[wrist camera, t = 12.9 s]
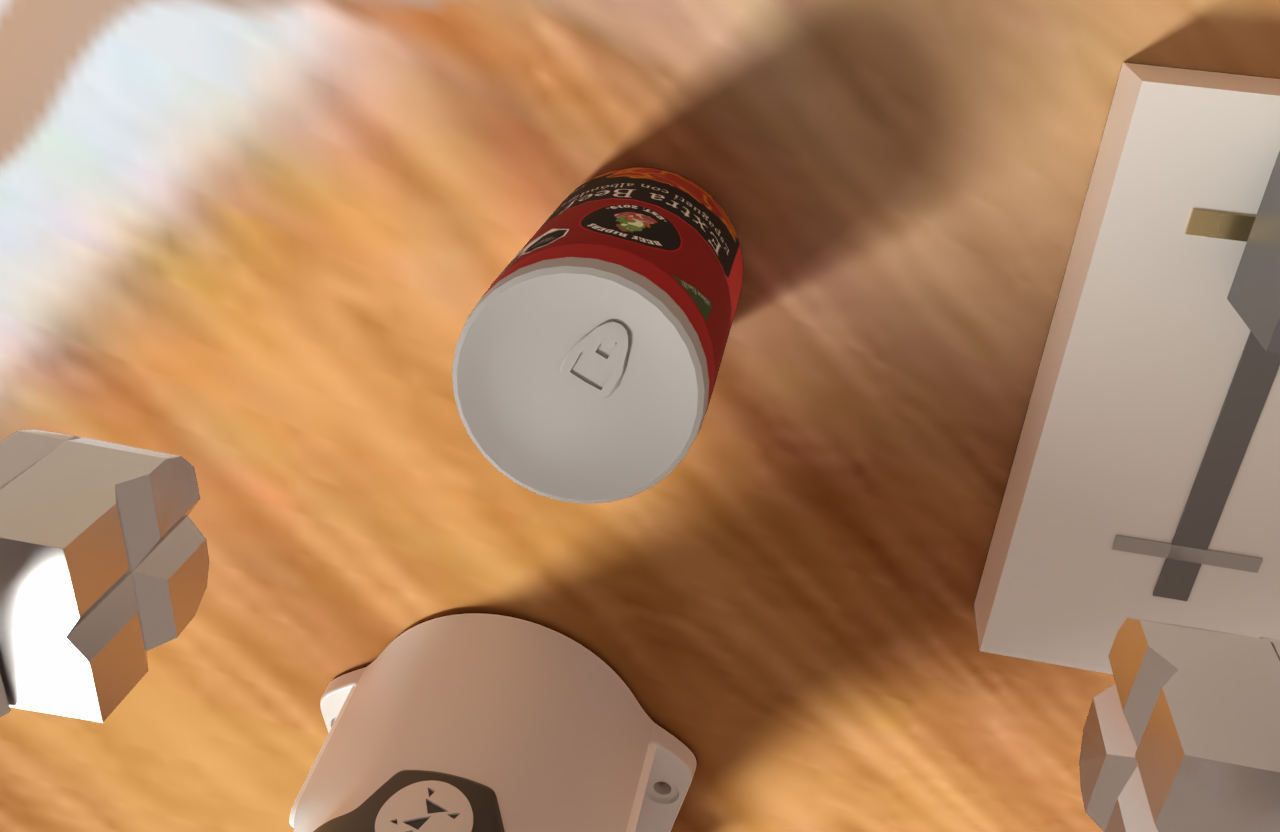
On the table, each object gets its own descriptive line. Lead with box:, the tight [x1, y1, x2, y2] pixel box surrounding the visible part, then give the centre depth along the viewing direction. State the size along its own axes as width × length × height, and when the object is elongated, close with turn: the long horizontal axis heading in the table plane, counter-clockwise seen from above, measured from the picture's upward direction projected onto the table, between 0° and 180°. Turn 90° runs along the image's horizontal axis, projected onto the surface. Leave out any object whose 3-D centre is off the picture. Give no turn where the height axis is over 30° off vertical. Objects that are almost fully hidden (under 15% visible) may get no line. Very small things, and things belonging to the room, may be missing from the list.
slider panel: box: [974, 62, 1280, 675], centre depth 38 cm, size 22×12×3 cm, turn 176°
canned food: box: [452, 167, 743, 504], centre depth 37 cm, size 8×8×11 cm
